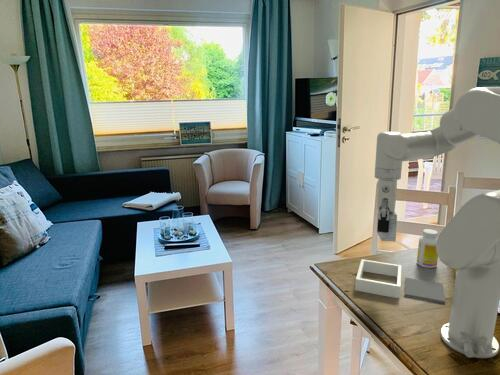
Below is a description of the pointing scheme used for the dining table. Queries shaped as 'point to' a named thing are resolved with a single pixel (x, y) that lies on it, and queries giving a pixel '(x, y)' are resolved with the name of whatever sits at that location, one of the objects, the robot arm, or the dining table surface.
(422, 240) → the supplement bottle
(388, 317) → the dining table surface
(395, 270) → the bin
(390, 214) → the medicine box
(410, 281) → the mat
